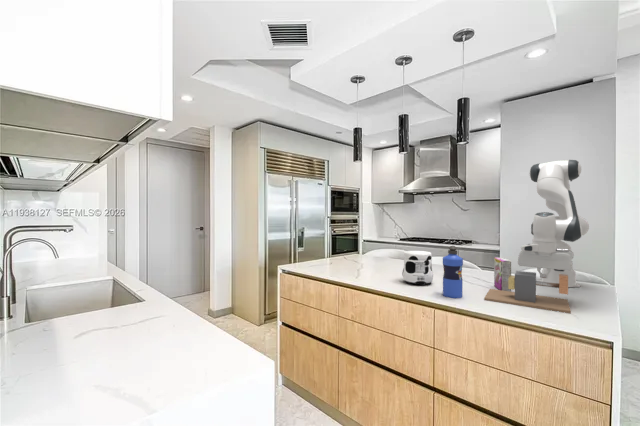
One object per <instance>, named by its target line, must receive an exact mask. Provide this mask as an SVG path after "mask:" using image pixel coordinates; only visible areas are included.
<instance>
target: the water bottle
mask: <svg viewBox="0 0 640 426" xmlns="http://www.w3.org/2000/svg"><path fill="white" fill-rule="evenodd" d="M447 253H448V254H447V255H445V256H443V257H442V267H443V275H442V276H443V277H442V296H443V297H445V298H450V299H461V298H463V274H462V273H463V266H464V258H462V257H461V256H459V255H458V249H457V247H456V246H455V245H450V246H449V247H448V251H447Z"/></svg>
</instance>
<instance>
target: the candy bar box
mask: <svg viewBox="0 0 640 426" xmlns="http://www.w3.org/2000/svg"><path fill="white" fill-rule="evenodd" d="M493 268H494V269H493V272H494V273H493V277H494V278H493V279H494V281H493V283H494V284H493V285H494V287H495V288H496V289H497V290H502V291H510V292H512V289H508V282H505V281H503V277H506V278H508V277H509V275H512V261H511V260H509V259H508V258H505V257H496V256H495V257H494V258H493Z"/></svg>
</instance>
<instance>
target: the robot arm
mask: <svg viewBox="0 0 640 426" xmlns="http://www.w3.org/2000/svg"><path fill="white" fill-rule="evenodd" d="M581 173H582V166H581V164H580V162H579V161H578V160H576V159H569V160H568V159H567V160H565V159H563V160H553V161H549V162H543V163H536V164H533V165H532V166H531V167H530V170H529V174H528V175H529V178H530V180H531V181H532V182H534V183H536V191H537V194H538V195H539V197H541V198H543V199H544V200H545V205H546V208H548V209H550V210H551V211H554V212H556V213H557V215H558V216H557V215H555V213H552V212H550V211H549V212H548V211H546V212H545V211H543V212H542V211H541V212H537V213H535V214H534V217H533V221H532V223H531V226H530V227H531V228H530V234H531V235H532V236H533V237H532V243H528V244H522V245H521V247H520V248H521V251H520V252H519V253H518V258H517V265H518V266H519V267H526V268H528V267H529V268H536V270H537V272H538V274H539V279H538V280H537V281H541V282H550V283H559V274H565V275H568V288H574V287H575V288H580V287H581V284H579V283H578V282H577V274H576V273H577V272H576V271H575V269H573V268H574V267H573V261H572V260H573V259H574V256H575V255H574V252H573V250H572V247H571V246H570V245H569V244H568V243H567V242H571V243H573V242H576V241H578V240H580V239H581V238H582V236H585V235H586V234H587V233H588V231H589V229H590V224H589V222H588V221H587V219H586V218H584V217H582V216H581V215H579V214H578V210H577V206H576V201H575V198H574V194H573V192H572V190H571V185H570V182H573V181H574V180H576V179H578V178H579V177H580V174H581ZM564 241H565V242H564Z"/></svg>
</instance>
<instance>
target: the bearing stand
mask: <svg viewBox="0 0 640 426" xmlns="http://www.w3.org/2000/svg"><path fill="white" fill-rule="evenodd" d="M514 276H515V289H514V291H511V292H510V291H502V290H499V289H494V288H490V289H488V292H487V293H486V294H485V296H484V298H483V300H484V301H489V302H495V303H500V304H507V305H514V306H519V307H527V308H533V309H540V310H546V311H551V310H552V311H553V312H557V311H559V312H558V313H564V312H565V313H566V314H571V313H572V312H571V311H572V310H571V307H570V304H569V303H570V302H569V300H568V298H560V297H552V296H546V295H545V296H544V295H538V294H537V285H536V281H537V272H534V271H533V272H532V271H525V270H524V271H523V270H515V273H514ZM552 311H551V312H552ZM565 313H564V314H565Z"/></svg>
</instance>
